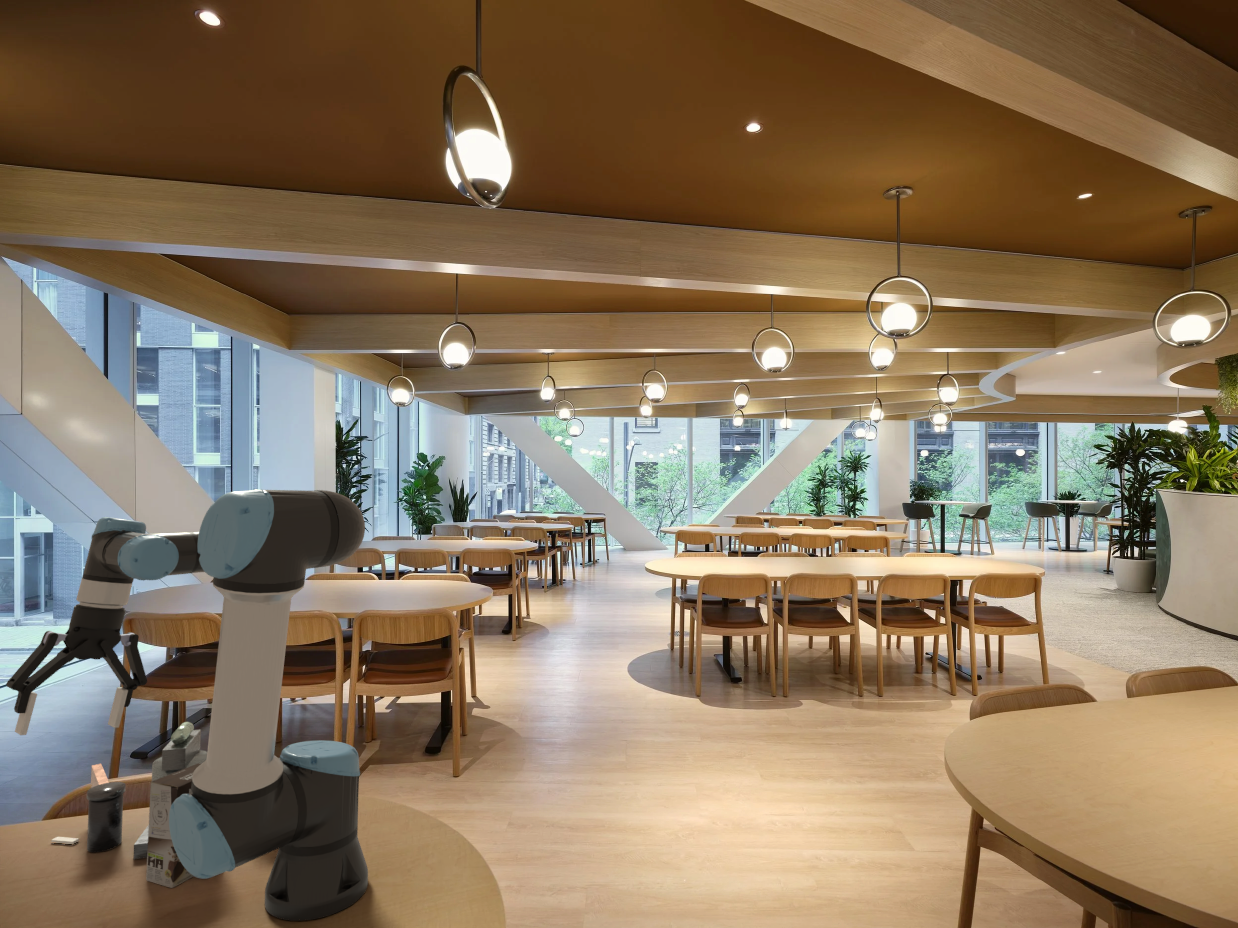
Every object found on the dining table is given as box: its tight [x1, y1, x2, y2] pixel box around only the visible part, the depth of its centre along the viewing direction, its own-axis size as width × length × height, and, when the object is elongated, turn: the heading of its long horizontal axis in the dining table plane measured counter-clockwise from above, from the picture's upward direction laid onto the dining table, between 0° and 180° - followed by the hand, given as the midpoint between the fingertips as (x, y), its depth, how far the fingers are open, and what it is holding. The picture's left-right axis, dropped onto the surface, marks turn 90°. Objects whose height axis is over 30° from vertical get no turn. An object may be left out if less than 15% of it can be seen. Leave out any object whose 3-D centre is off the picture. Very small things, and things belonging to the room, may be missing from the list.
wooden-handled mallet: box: [86, 763, 127, 853], centre depth 130 cm, size 18×6×10 cm, turn 42°
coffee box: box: [145, 763, 201, 889], centre depth 118 cm, size 9×6×16 cm
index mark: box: [50, 836, 80, 845], centre depth 127 cm, size 4×1×1 cm, turn 82°
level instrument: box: [132, 721, 207, 860], centre depth 129 cm, size 11×11×20 cm
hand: (68, 729), depth 121 cm, fingers open, 13 cm apart
